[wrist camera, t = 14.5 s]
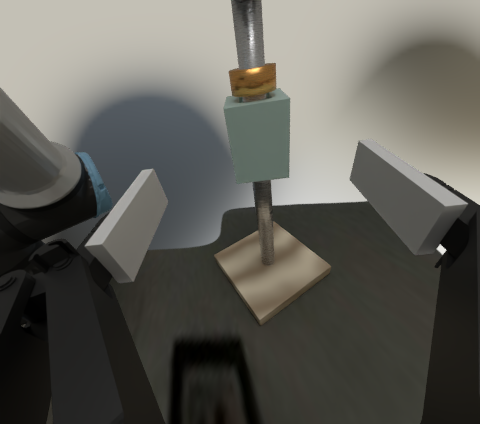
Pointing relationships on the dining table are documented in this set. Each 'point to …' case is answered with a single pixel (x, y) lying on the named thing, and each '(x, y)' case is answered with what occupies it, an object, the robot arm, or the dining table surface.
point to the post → (251, 89)
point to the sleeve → (259, 136)
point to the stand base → (271, 272)
